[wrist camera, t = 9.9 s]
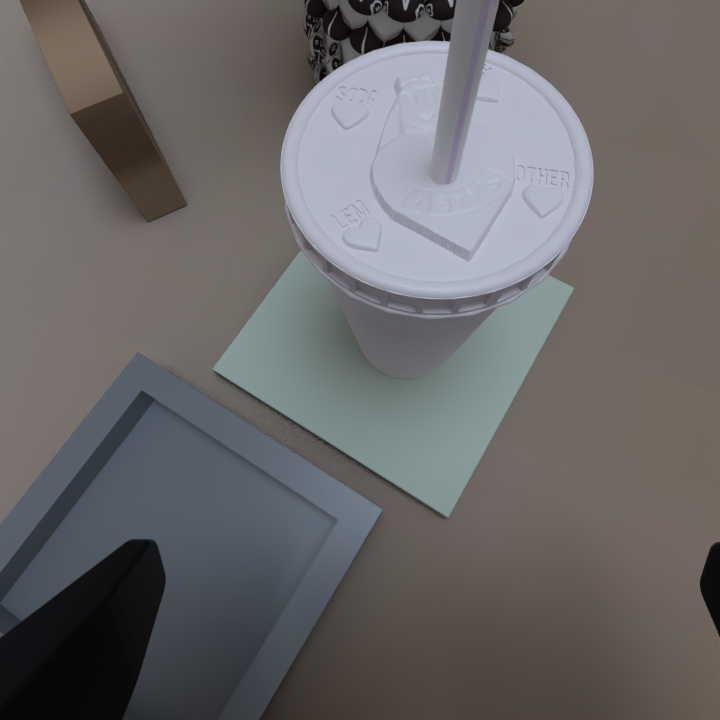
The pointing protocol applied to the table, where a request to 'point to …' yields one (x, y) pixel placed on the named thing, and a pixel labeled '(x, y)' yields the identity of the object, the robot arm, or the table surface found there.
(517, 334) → the mat
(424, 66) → the smoothie
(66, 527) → the tray
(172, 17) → the table surface
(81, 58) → the lane
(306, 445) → the table surface
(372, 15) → the decorative candle
